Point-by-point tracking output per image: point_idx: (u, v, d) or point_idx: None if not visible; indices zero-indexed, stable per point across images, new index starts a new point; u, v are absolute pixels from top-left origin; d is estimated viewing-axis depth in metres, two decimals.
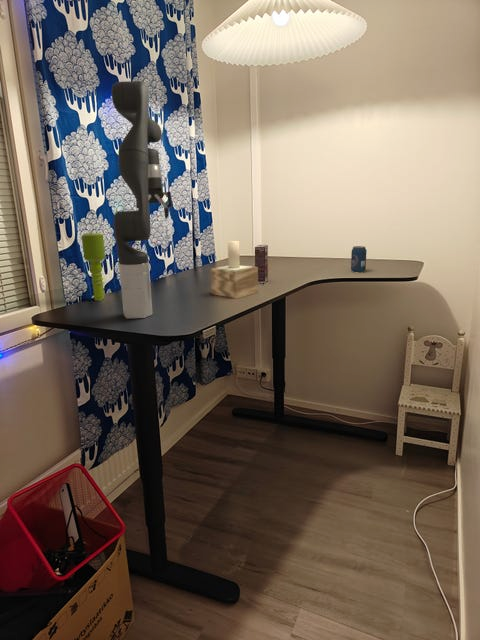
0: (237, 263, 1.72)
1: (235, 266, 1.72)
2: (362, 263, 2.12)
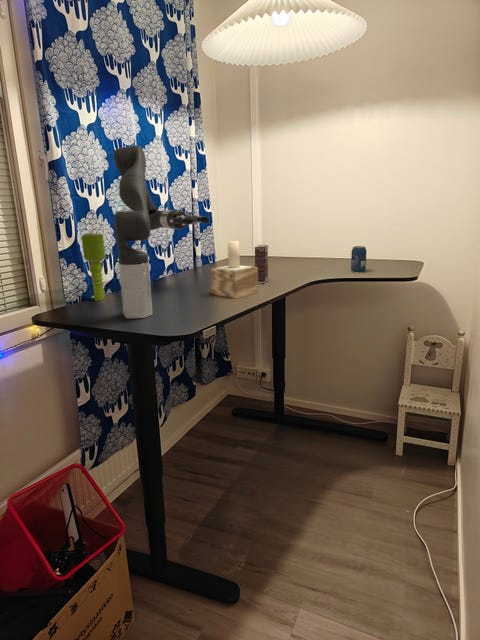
0: (237, 263, 1.72)
1: (235, 266, 1.72)
2: (362, 263, 2.12)
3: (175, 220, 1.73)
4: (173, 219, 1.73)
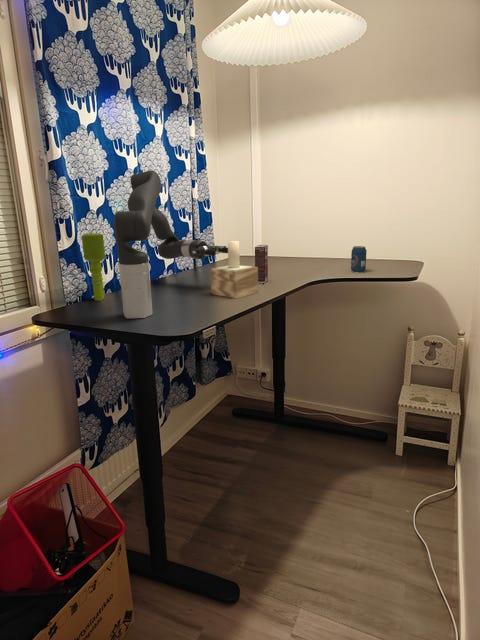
0: (237, 263, 1.72)
1: (235, 266, 1.72)
2: (362, 263, 2.12)
3: (198, 251, 1.76)
4: (196, 250, 1.76)
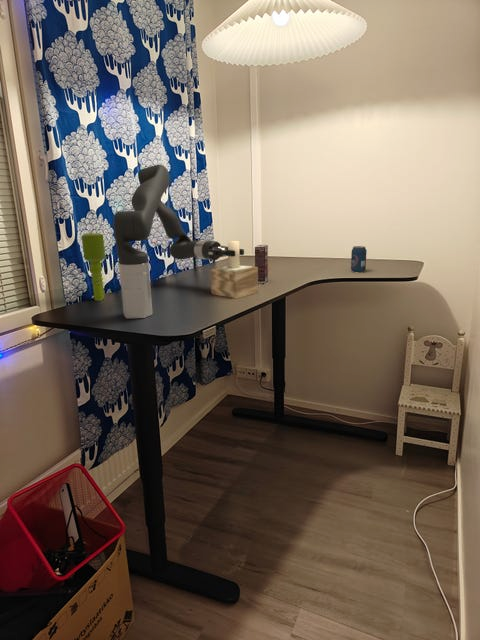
0: (237, 263, 1.72)
1: (235, 266, 1.72)
2: (362, 263, 2.12)
3: (216, 252, 1.71)
4: (214, 251, 1.71)
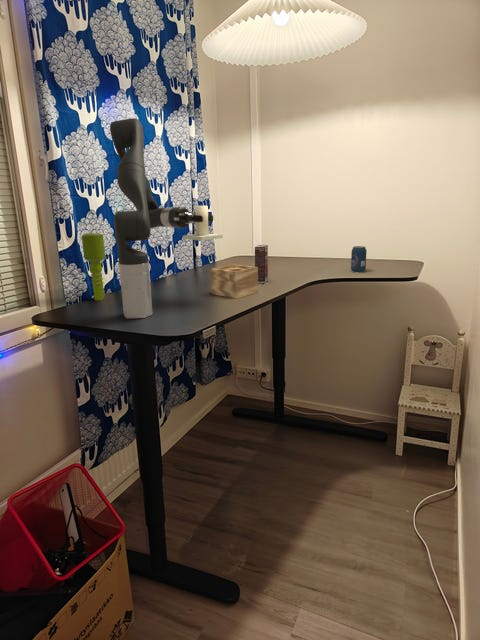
0: (205, 230, 1.57)
1: (203, 233, 1.56)
2: (362, 263, 2.12)
3: (182, 218, 1.56)
4: (179, 217, 1.56)
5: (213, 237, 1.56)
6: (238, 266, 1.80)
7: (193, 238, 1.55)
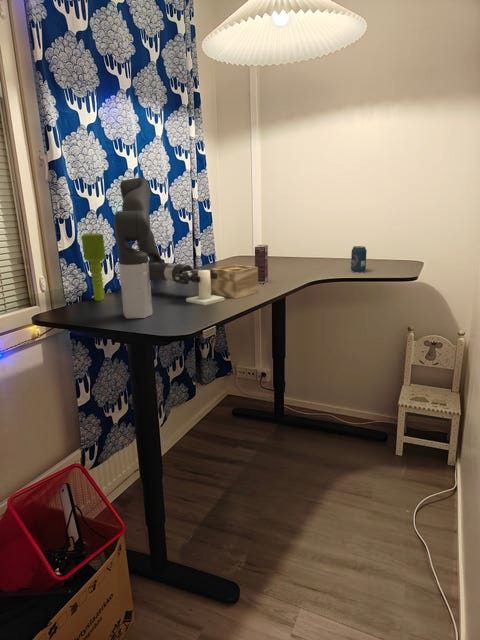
0: (208, 294, 1.63)
1: (206, 297, 1.63)
2: (362, 263, 2.12)
3: (181, 277, 1.61)
4: (179, 276, 1.61)
5: (215, 301, 1.62)
6: (238, 266, 1.80)
7: (197, 302, 1.61)
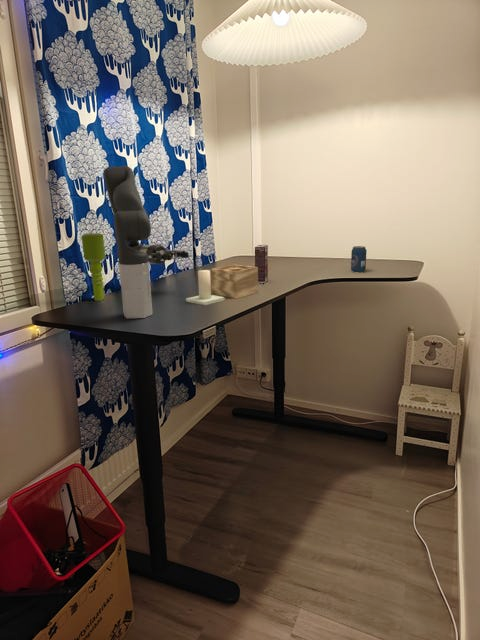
0: (208, 294, 1.63)
1: (206, 297, 1.63)
2: (362, 263, 2.12)
3: (153, 256, 1.68)
4: (151, 255, 1.69)
5: (215, 301, 1.62)
6: (238, 266, 1.80)
7: (197, 302, 1.61)
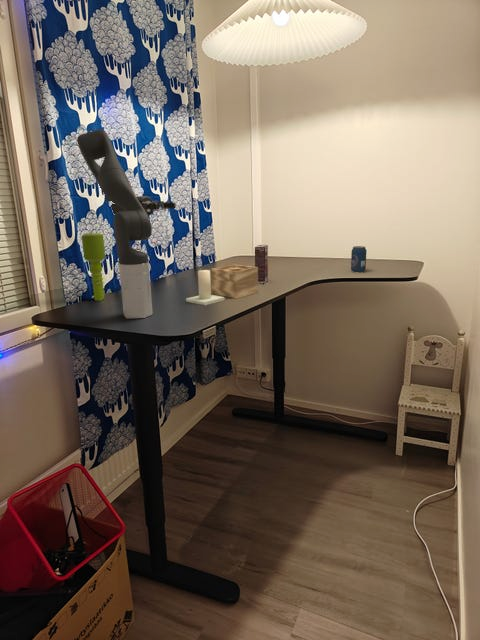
0: (208, 294, 1.63)
1: (206, 297, 1.63)
2: (362, 263, 2.12)
3: None
4: None
5: (215, 301, 1.62)
6: (238, 266, 1.80)
7: (196, 302, 1.61)
